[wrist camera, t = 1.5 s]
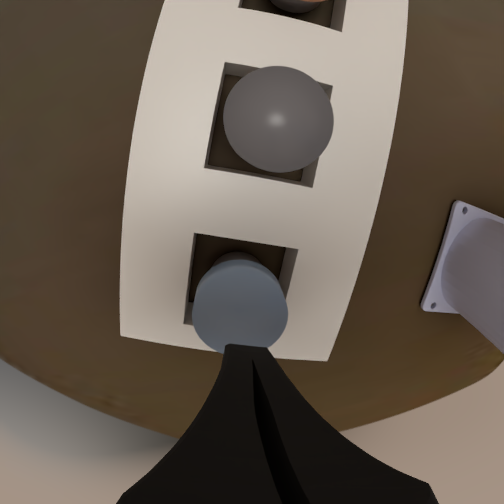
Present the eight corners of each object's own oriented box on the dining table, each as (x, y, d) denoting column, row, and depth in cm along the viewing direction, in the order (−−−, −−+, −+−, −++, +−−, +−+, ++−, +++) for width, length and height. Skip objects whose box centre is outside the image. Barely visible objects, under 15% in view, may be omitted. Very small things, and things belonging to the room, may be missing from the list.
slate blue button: (281, 248, 16) (298, 281, 12) (266, 315, 18) (276, 359, 14) (205, 236, 16) (197, 266, 12) (195, 305, 17) (188, 349, 13)
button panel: (390, -15, 12) (408, -30, 10) (317, 338, 20) (327, 361, 17) (200, -61, 11) (197, -82, 8) (131, 313, 18) (120, 335, 16)
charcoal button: (313, 96, 14) (342, 81, 10) (298, 172, 15) (322, 182, 11) (233, 79, 13) (234, 56, 9) (217, 158, 15) (213, 161, 11)
